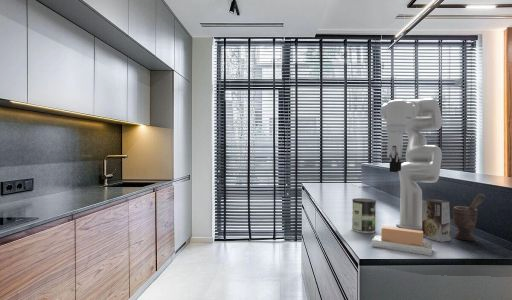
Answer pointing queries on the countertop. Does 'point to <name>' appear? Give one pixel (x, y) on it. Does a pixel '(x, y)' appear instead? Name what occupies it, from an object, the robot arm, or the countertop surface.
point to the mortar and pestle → (466, 219)
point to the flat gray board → (402, 246)
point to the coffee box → (436, 219)
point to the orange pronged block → (402, 235)
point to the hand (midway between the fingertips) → (395, 171)
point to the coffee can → (363, 215)
